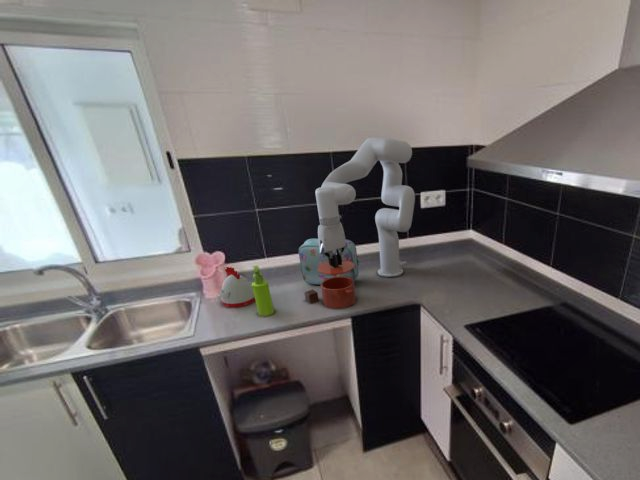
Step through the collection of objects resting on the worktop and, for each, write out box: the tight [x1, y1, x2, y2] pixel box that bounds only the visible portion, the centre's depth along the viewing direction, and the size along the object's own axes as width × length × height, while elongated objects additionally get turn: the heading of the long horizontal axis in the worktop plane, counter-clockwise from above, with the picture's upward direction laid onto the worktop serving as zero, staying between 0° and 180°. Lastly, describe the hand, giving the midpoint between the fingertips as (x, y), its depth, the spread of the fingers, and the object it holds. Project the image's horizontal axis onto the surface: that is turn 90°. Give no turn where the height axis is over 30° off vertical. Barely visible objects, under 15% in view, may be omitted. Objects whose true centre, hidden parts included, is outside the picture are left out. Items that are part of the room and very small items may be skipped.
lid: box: [318, 253, 354, 275], centre depth 154 cm, size 15×15×7 cm
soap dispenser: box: [252, 265, 275, 317], centre depth 149 cm, size 6×7×20 cm
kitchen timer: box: [219, 266, 256, 308], centre depth 161 cm, size 14×14×15 cm
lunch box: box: [298, 238, 361, 286], centre depth 175 cm, size 27×10×21 cm, turn 84°
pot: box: [320, 277, 357, 310], centre depth 160 cm, size 14×19×8 cm
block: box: [304, 289, 320, 304], centre depth 162 cm, size 4×4×4 cm
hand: (335, 265), depth 155 cm, fingers closed on lid, 2 cm apart
